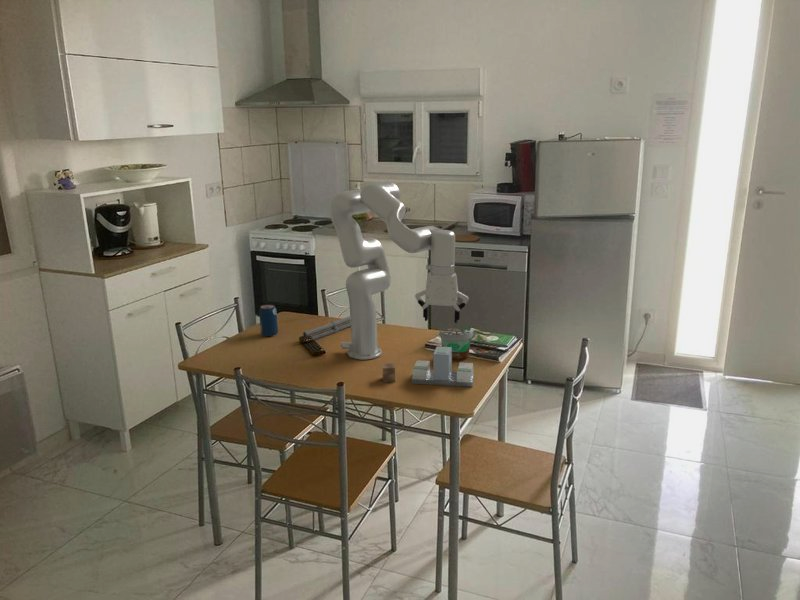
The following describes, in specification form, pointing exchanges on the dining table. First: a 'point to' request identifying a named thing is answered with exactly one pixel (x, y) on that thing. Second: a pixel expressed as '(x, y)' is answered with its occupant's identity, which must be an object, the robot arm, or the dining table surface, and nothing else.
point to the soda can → (268, 320)
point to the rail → (458, 378)
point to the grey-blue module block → (442, 363)
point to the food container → (457, 343)
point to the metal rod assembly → (331, 325)
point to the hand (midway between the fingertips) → (441, 320)
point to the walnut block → (388, 372)
